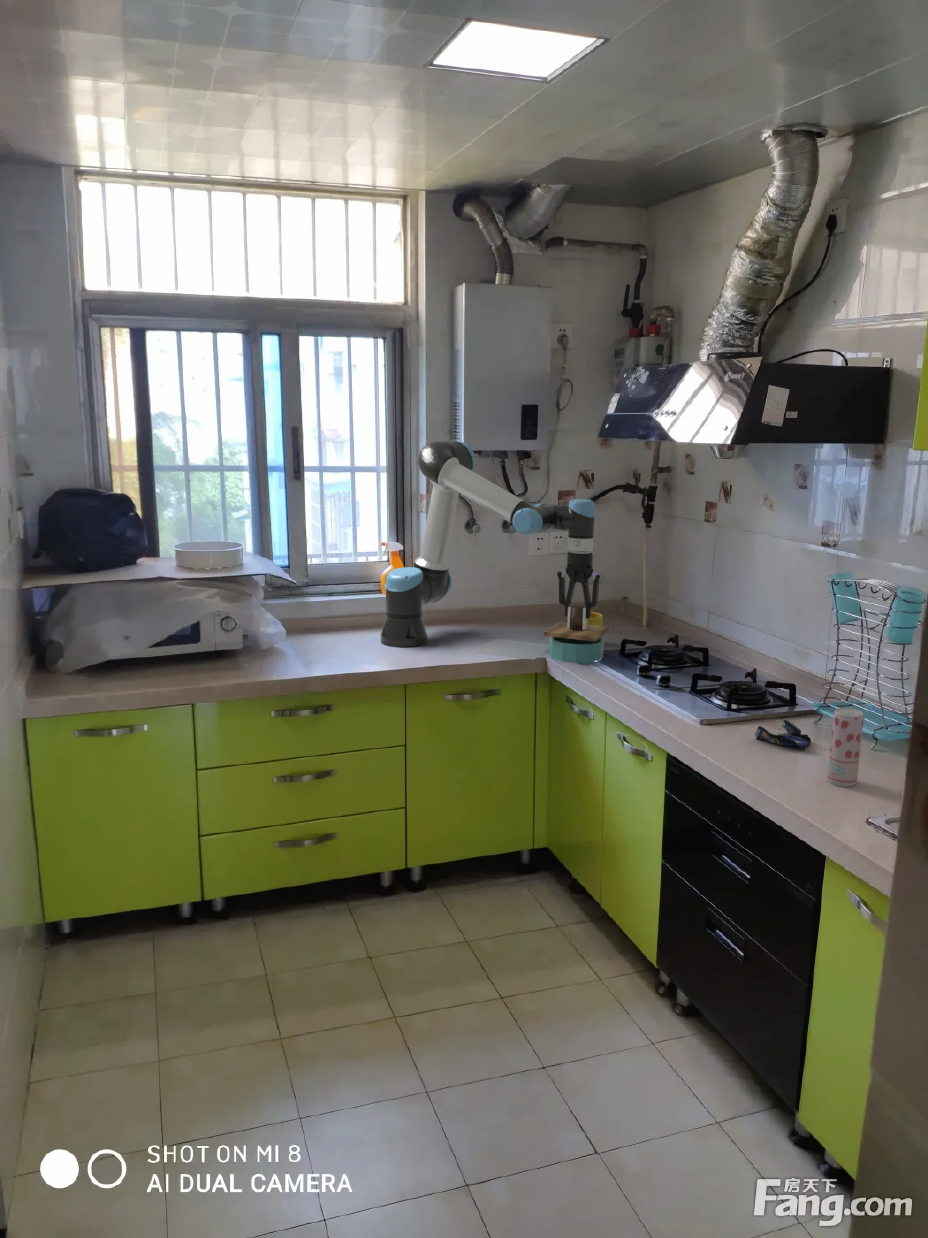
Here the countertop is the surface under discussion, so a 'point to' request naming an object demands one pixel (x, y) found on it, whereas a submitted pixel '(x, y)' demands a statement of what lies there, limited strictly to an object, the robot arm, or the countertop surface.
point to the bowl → (576, 650)
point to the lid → (576, 628)
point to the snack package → (785, 735)
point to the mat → (513, 649)
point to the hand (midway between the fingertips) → (577, 627)
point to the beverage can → (845, 747)
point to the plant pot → (595, 619)
